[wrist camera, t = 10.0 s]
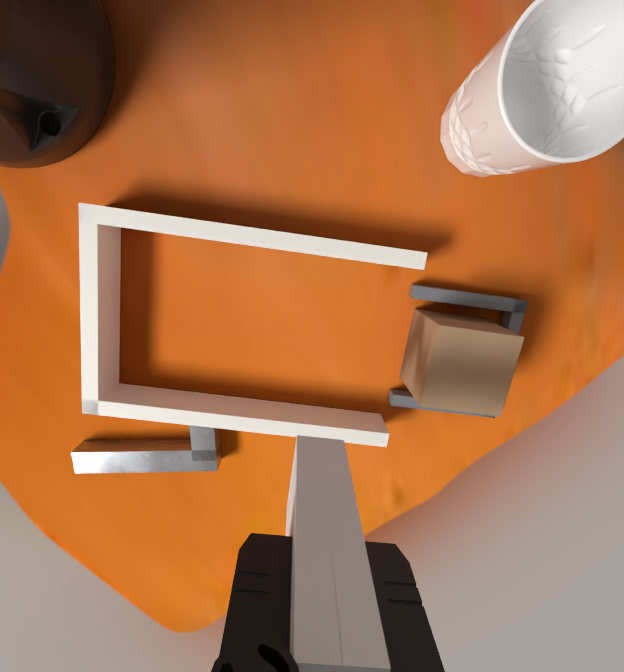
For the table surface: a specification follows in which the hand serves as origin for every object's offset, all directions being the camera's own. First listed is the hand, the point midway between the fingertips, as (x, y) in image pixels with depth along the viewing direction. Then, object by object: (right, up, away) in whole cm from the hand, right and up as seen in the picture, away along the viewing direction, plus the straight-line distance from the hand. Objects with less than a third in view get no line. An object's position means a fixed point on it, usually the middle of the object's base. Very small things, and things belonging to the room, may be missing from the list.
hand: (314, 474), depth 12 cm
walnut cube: (+11, +3, +20) cm, 23 cm away
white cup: (+13, +20, +16) cm, 28 cm away
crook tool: (-14, -4, +22) cm, 26 cm away
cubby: (-5, +5, +19) cm, 20 cm away
